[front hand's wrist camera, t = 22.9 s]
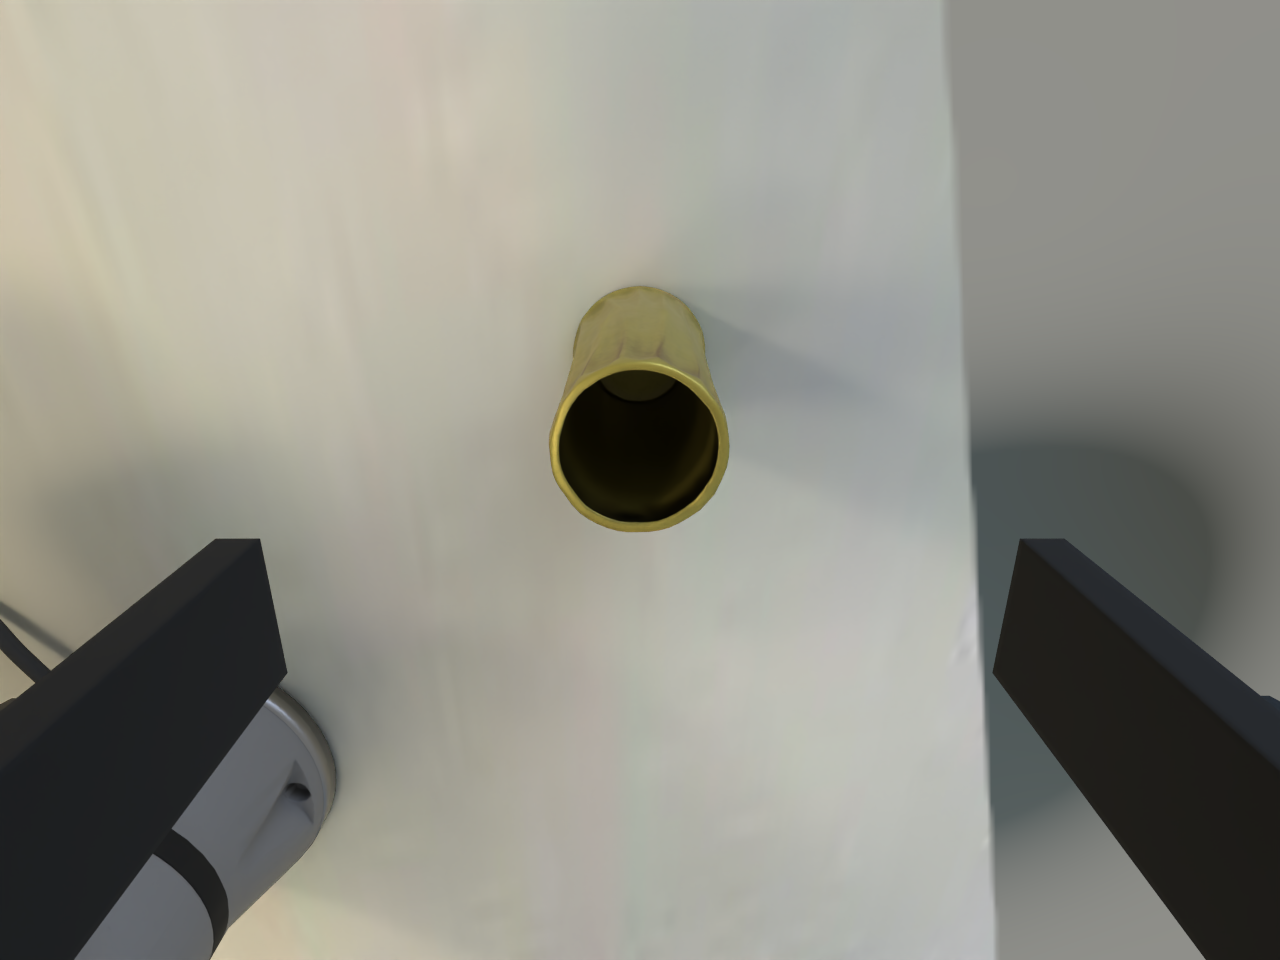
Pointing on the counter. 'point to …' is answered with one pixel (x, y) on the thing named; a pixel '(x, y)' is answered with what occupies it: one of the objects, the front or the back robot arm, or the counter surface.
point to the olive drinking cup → (639, 415)
